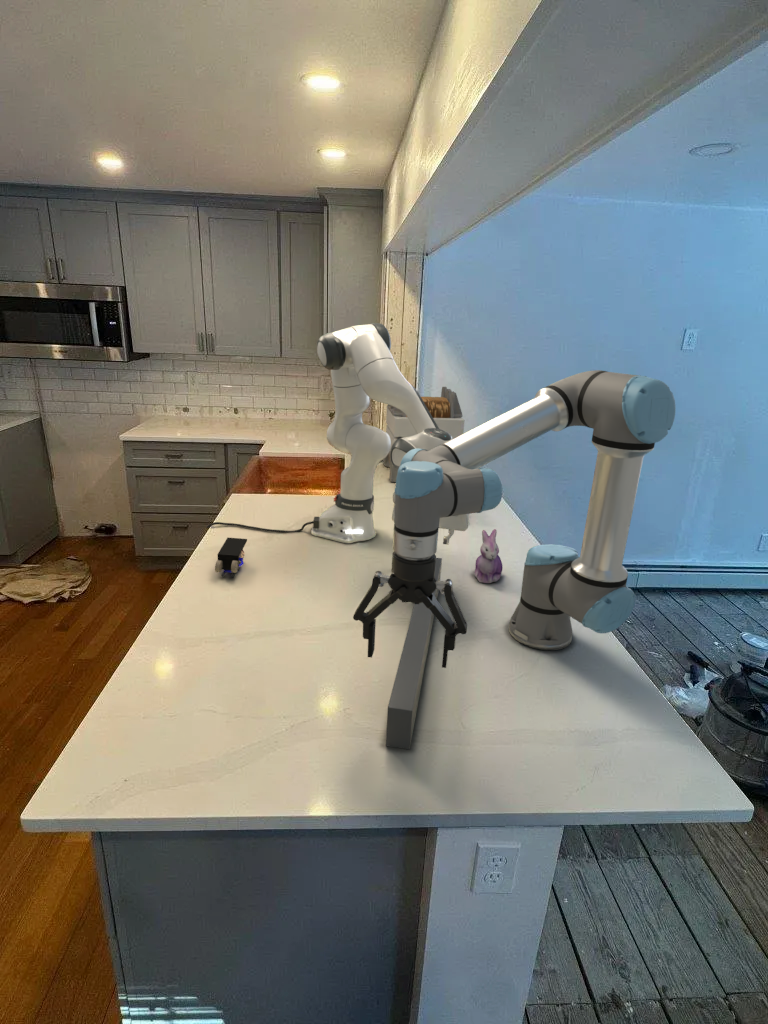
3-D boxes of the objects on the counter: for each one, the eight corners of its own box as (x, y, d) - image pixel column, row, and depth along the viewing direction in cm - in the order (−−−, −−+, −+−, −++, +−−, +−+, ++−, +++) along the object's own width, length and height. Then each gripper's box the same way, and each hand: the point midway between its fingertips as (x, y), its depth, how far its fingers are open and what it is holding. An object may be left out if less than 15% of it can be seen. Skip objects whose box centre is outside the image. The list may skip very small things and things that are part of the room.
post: (424, 583, 165) (426, 556, 162) (439, 585, 164) (442, 558, 161) (385, 745, 103) (387, 707, 100) (409, 749, 102) (412, 711, 99)
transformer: (382, 463, 289) (386, 382, 275) (445, 464, 293) (451, 384, 279) (390, 482, 257) (394, 392, 243) (460, 483, 261) (468, 394, 247)
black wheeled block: (238, 584, 162) (249, 557, 175) (236, 562, 158) (247, 536, 172) (215, 584, 161) (227, 556, 175) (212, 561, 158) (225, 535, 171)
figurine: (485, 587, 164) (491, 539, 159) (465, 572, 172) (469, 526, 167) (511, 581, 168) (517, 534, 163) (490, 567, 176) (495, 522, 171)
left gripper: (391, 490, 146) (388, 540, 151) (470, 500, 142) (465, 550, 147) (395, 484, 152) (392, 532, 156) (472, 493, 148) (466, 542, 153)
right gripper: (337, 553, 95) (336, 660, 102) (488, 569, 91) (475, 680, 99) (348, 536, 102) (345, 638, 109) (488, 551, 98) (476, 656, 106)
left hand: (428, 541), depth 152 cm, fingers open, 8 cm apart
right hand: (407, 658), depth 104 cm, fingers open, 13 cm apart
